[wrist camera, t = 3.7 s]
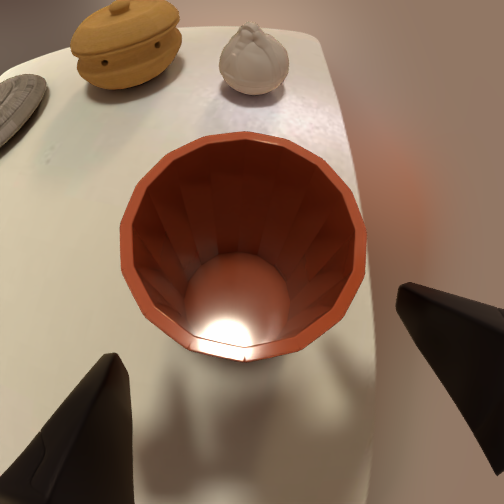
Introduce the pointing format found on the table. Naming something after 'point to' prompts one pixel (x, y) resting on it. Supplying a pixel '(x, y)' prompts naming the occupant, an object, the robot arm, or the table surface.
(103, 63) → the pot
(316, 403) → the table surface
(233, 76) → the figurine
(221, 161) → the tumbler
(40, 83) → the flying saucer
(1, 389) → the table surface
